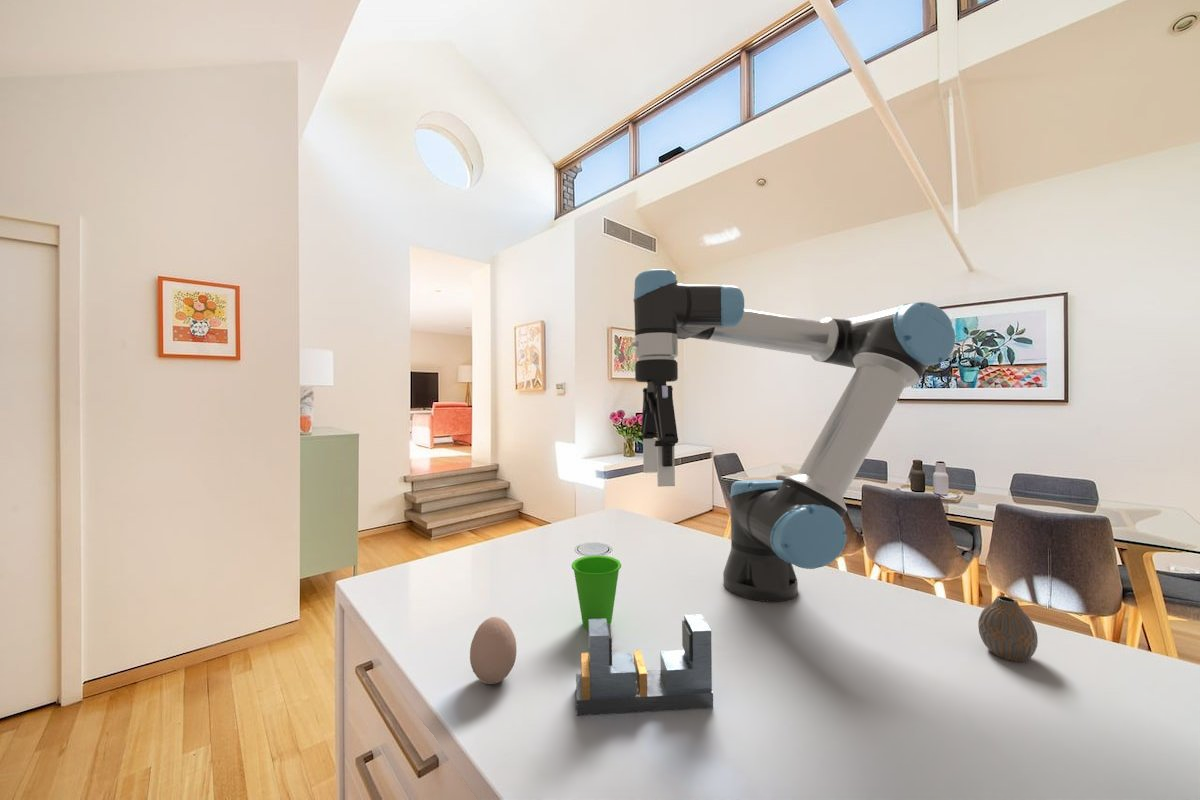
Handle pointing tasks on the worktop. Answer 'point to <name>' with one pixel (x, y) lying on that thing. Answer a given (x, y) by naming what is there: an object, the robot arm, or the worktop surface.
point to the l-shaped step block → (608, 664)
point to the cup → (596, 586)
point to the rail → (660, 678)
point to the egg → (493, 650)
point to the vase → (1007, 630)
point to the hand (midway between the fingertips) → (657, 478)
